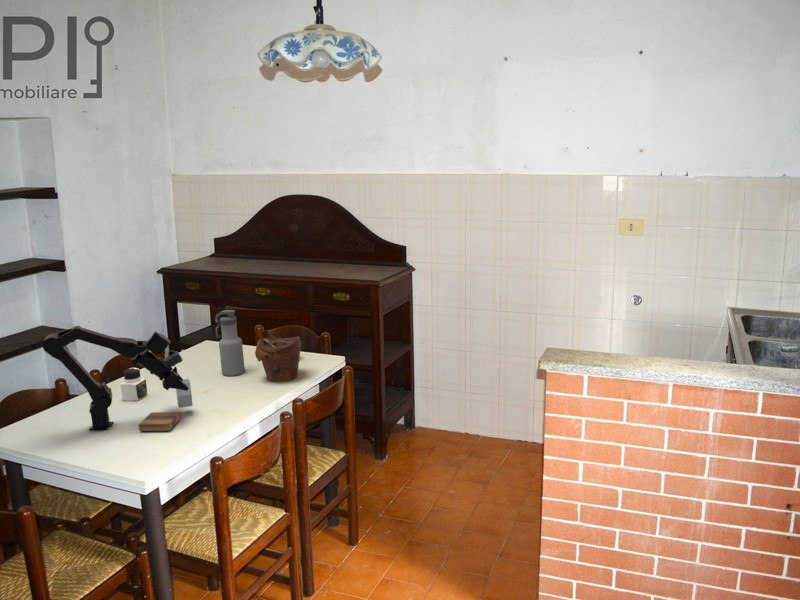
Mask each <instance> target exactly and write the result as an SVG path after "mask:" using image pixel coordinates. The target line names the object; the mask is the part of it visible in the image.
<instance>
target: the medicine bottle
mask: <svg viewBox="0 0 800 600" xmlns="http://www.w3.org/2000/svg"><path fill="white" fill-rule="evenodd" d="M123 378H124V381H123V382H121V383H120V384H119V385H120V391H121V398H122V399H121V400H122V401H129V402H131V401H132V402H139V401H140V400H142V399H143V398H145V397H146V396H148V387H147V380H146V378H143V377H142V378H141V371H140V369H139V368H137V367H130V368H127V369H125V370H124V371H123Z"/></svg>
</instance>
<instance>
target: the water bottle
mask: <svg viewBox="0 0 800 600" xmlns="http://www.w3.org/2000/svg"><path fill="white" fill-rule="evenodd" d="M235 314H236V310H234V309H224V310H221V311H219V312H217V314H216V315H215V317H214V320H215V323H217V326H215V337H216V339H220V338H221V339H220V340H219V342H218V347H219V357H220V367H221V374H222V375H223V376H226V377H235V376H236V377H237V376H239V375H242V374H243V373H245V359H244V349H243V340H242V338H241V337H239V336H238V327H237V324H238V320H237V316H236V315H235ZM219 328H221V329H220V330H221V331H220V332H221V335H219V333H218V329H219Z"/></svg>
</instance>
